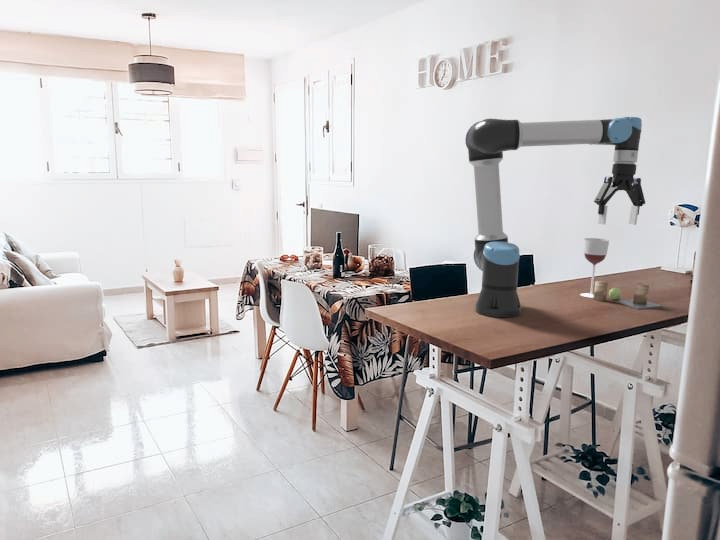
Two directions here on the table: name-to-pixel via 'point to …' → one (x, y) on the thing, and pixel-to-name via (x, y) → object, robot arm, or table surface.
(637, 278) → the table surface
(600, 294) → the cork
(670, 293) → the table surface
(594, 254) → the wineglass
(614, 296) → the lime
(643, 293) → the cork
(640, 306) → the coaster
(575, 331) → the table surface
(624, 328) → the table surface
